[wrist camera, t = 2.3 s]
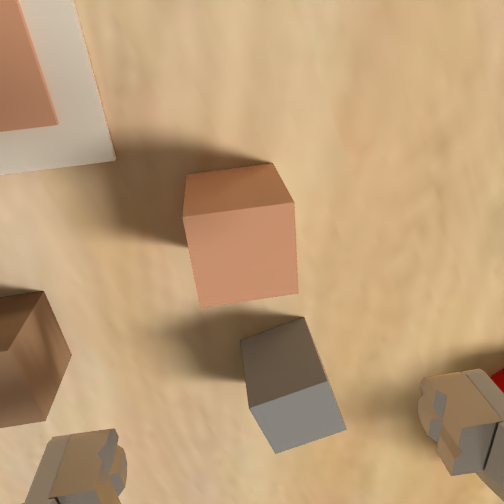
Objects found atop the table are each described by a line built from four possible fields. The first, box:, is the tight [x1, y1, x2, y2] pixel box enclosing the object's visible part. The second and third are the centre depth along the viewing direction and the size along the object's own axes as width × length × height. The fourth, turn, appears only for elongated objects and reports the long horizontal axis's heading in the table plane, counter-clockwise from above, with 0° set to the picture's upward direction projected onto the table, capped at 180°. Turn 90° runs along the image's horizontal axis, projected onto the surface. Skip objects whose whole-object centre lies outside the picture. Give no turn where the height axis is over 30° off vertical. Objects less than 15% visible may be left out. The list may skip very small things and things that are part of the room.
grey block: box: [240, 317, 347, 454], centre depth 25 cm, size 4×4×6 cm
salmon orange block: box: [182, 163, 298, 308], centre depth 19 cm, size 4×4×6 cm
